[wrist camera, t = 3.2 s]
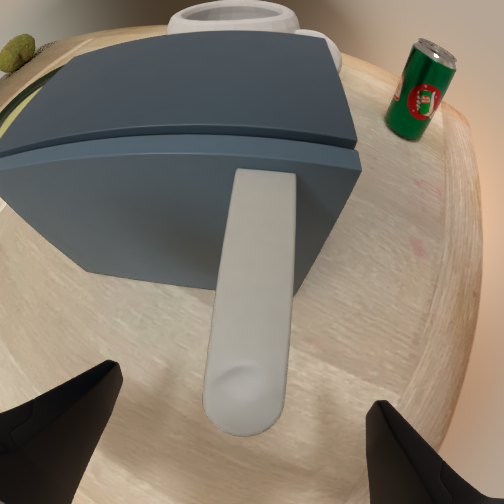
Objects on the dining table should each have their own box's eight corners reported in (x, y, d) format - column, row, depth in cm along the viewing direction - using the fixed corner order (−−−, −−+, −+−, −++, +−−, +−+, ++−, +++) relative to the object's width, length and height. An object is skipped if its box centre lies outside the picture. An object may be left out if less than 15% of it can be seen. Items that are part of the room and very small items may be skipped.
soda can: (394, 111, 28) (423, 36, 17) (425, 134, 26) (463, 61, 15) (376, 121, 26) (408, 35, 15) (411, 148, 25) (454, 64, 14)
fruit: (18, 72, 45) (-9, 57, 32) (14, 83, 53) (-10, 69, 40) (45, 37, 46) (20, 22, 34) (38, 51, 54) (15, 37, 41)
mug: (144, 96, 28) (126, 30, 19) (213, 47, 34) (210, -4, 25) (313, 139, 24) (333, 49, 15) (345, 77, 30) (359, 18, 21)
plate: (129, 53, 36) (126, 42, 33) (61, 154, 24) (52, 139, 22) (27, 90, 35) (23, 83, 33) (-37, 188, 23) (-44, 180, 21)
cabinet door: (286, 393, 15) (370, 441, 4) (69, 350, 15) (-67, 302, 4) (294, 286, 18) (358, 149, 7) (89, 262, 18) (-13, 161, 7)
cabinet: (294, 283, 18) (358, 140, 7) (90, 259, 19) (-12, 155, 7) (296, 179, 22) (325, 38, 10) (124, 170, 22) (73, 57, 11)
